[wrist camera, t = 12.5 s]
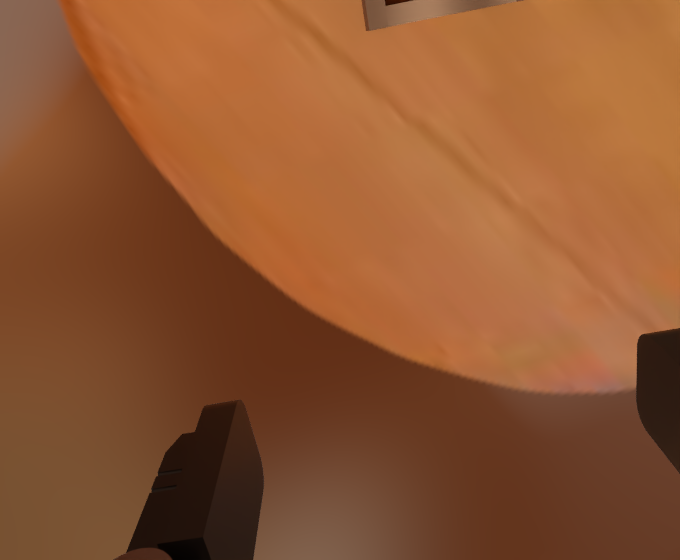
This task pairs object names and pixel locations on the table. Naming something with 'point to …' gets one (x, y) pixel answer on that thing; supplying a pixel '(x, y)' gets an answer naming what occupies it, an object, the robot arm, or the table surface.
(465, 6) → the frame
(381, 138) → the table surface
